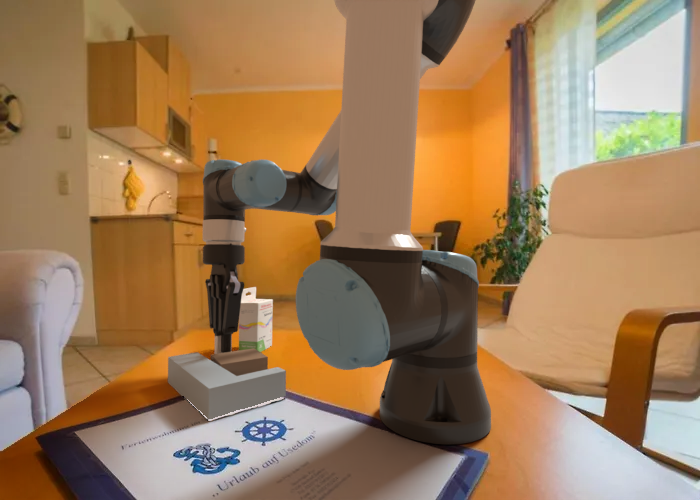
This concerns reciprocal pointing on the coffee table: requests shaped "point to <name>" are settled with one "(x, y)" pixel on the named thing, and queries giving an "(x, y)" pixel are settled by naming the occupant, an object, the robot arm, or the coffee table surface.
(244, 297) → the ink box
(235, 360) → the walnut block
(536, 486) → the coffee table surface
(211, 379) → the gray l-shaped block
